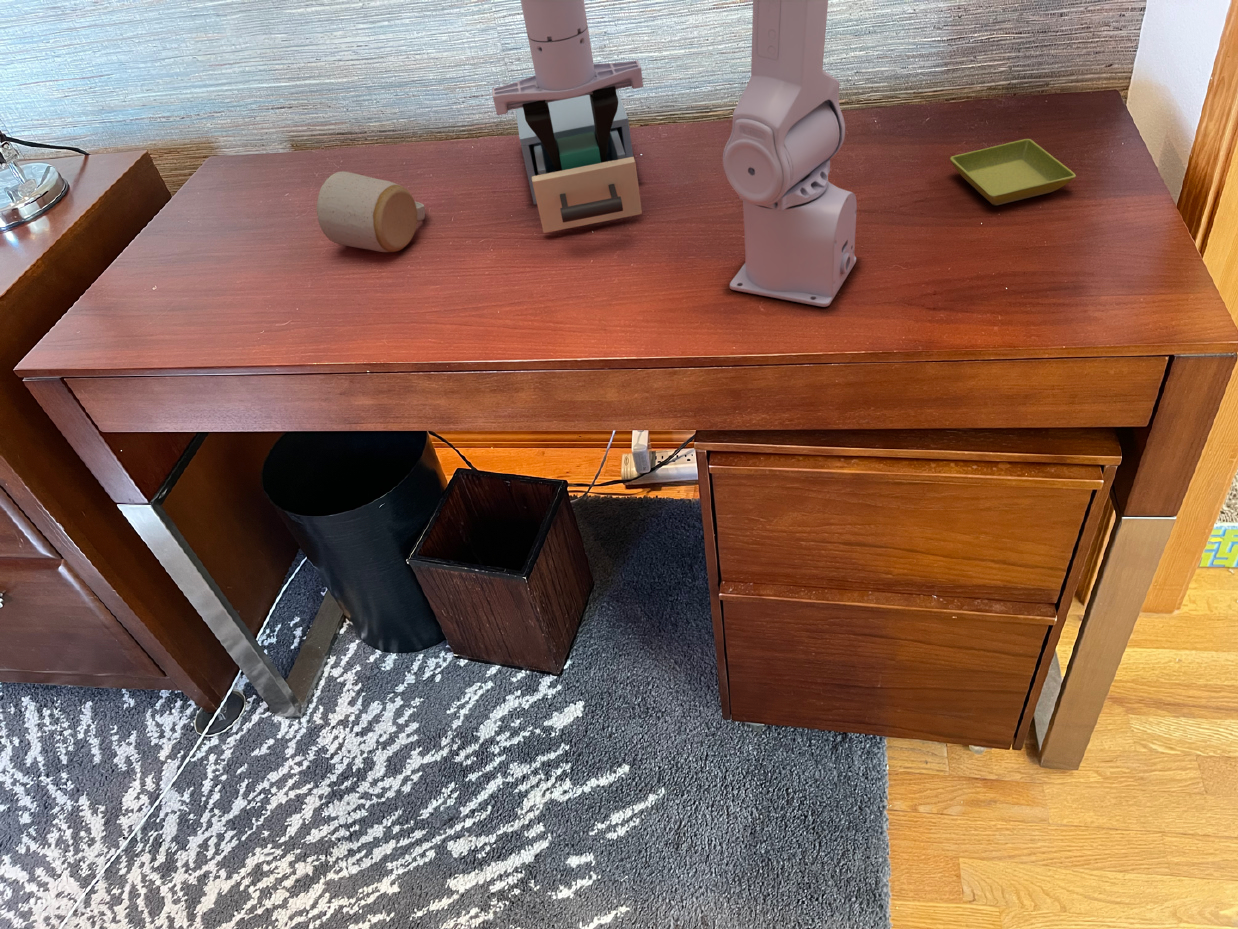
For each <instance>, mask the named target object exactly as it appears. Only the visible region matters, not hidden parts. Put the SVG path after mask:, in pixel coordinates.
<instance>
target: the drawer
mask: <svg viewBox="0 0 1238 929" xmlns="http://www.w3.org/2000/svg"><path fill="white" fill-rule="evenodd" d="M594 133H595V132H594ZM595 137H596V135H595ZM555 140H556V139H555ZM556 144H557V141H556ZM533 145H534V151H535V157H536V163H537V169H538V174H539V175H537V176H532V183H533V187H534V192H535V196H536V201H537V204H536V205H537V206H536V207H537V210H538V214H539V219H540V223H541V228H542V232H543V234H547V233H551V232H557V231H561V230H567V229H571V228H577V227H582V226H587V225H593V224H597V223H603V222H608V221H612V220H618V219H622V218H628V217H633V216H638V215H642V214H643V211H642V203H641V194H640V188H639V180H638V172H637V163H636V159H635V157H634V156H633V157H629V158H626V157H625V153H624V149H623V146H622V143H621V140H620V137H619V134H618V131H617V128H612V129H611V131H610V135H609V141H608V149H607V162H603V163H598V164H593V165H588V166H583V167H578V168H572V169H567V170H562V171H557V172H556V170H555V167H554V165H553V163H552V160H551V158H550V156H549V154H548V153H547V151H546V149H545V147H544V146H543V144H542V143H541V142H540V143H535V144H533ZM557 147H558V146H557Z"/></svg>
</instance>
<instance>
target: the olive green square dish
mask: <svg viewBox="0 0 1238 929" xmlns="http://www.w3.org/2000/svg"><path fill="white" fill-rule="evenodd" d="M949 161H950V162H951V165H952V166H953V167H954V168H955V170H956V171H957V173H958V174H959V175H960V176H961V177H962V178H963V179H964V180H965V181H966V182H967V183H969V185H970V186H972V188H974V189H975V190H976V191H977V192H978V193H979V194H980V195H981V196H983V198H985V199H986V200H987V201H988V202H989V203H990V204H991V205H992V206H996V207H997V206H1000V205H1005V204H1008V203H1013V202H1017V201H1021V200H1025V199H1030V198H1034V197H1038V196H1042V195H1047V194H1051V193H1054V192H1055V191H1057V190H1060V189H1062V188H1063V187H1064V186H1067V184H1069V183H1071V181H1073V180H1074V179H1075V178H1076V177H1077V175H1076V173H1075V172H1074V171H1072V170H1071V169H1070V168H1069V167H1067V166H1066V165H1065V164H1064V163H1062V162H1061V161H1059V160H1058V159H1057V158H1055V157H1054V156H1053V155H1052V154H1050V153H1049V152H1048V151H1046V150H1045V149H1044V148H1043V147H1041V146H1040V145H1039V144H1038V143H1036V142H1035V141H1034V140H1033V139H1031V138H1023V139H1018V140H1015V141H1011V142H1007V143H1003V144H998V145H994V146H990V147H986V148H982V149H977V150H973V151H969V152H964V153H960V154H955V155H952V156H950V157H949Z"/></svg>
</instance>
